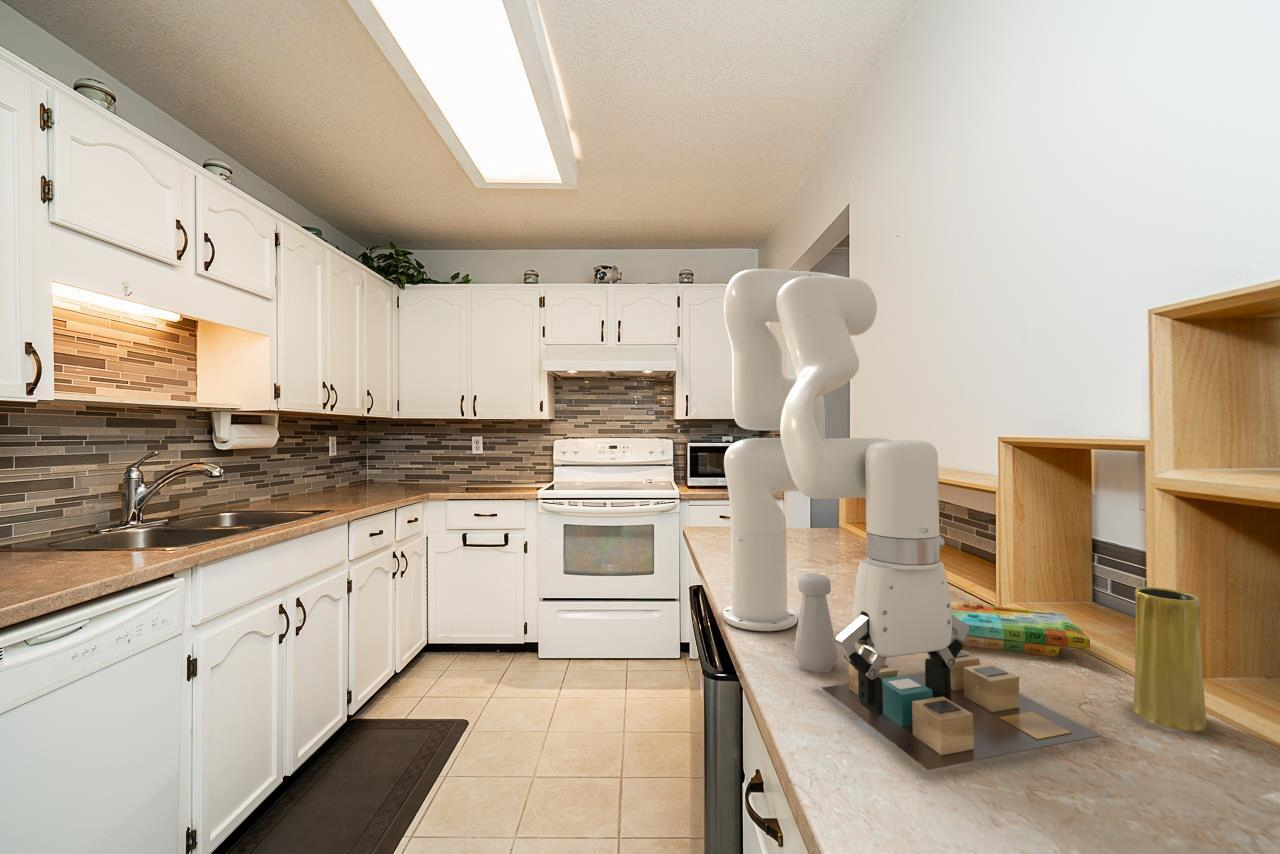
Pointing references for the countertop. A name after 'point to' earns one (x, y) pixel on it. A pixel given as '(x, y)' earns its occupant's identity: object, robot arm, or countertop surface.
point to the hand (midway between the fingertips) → (905, 703)
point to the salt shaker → (815, 626)
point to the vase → (1168, 659)
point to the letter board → (975, 728)
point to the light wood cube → (885, 672)
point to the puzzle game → (1018, 629)
